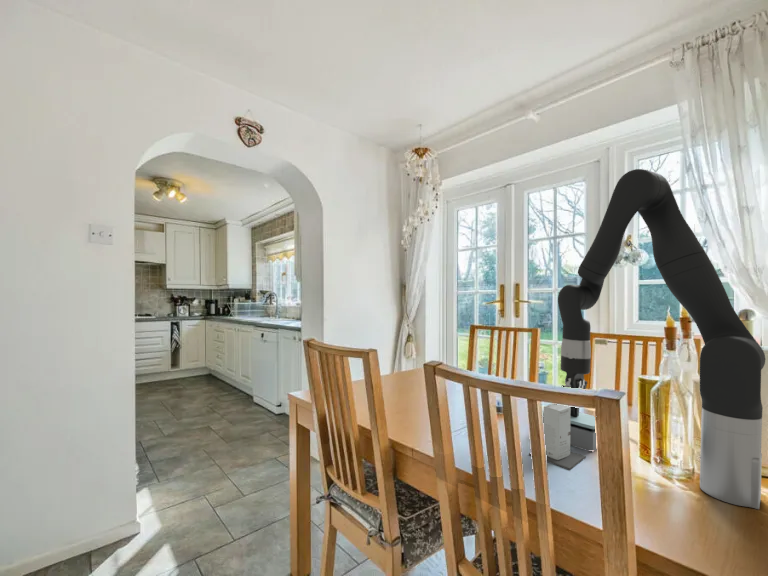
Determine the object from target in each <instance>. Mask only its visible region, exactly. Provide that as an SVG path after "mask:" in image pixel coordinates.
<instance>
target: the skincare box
mask: <svg viewBox="0 0 768 576" xmlns="http://www.w3.org/2000/svg"><path fill="white" fill-rule="evenodd" d="M557 404H558V403H557ZM557 404H555V403H551V404H548V405H544V406H543V411H544V413H543V416H542V417H543V423H544V434H545V445H546V455H547V456H548V457H551V458H553V459H556V460H560V459H562V458H565V457H567V456H569V455H570V451H571V445H570V423H571V416H570V413H571V407H569V405H565V404H561V405H557ZM564 405H565V406H564Z"/></svg>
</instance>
